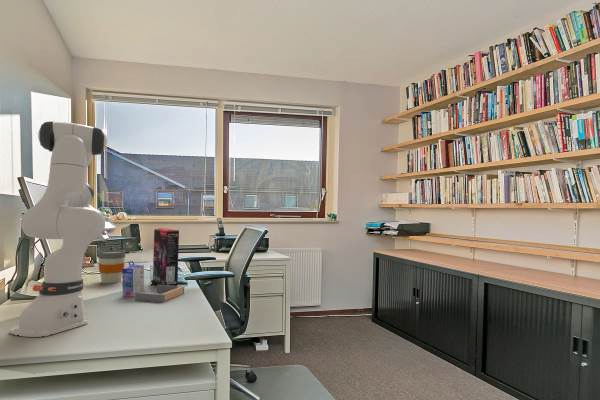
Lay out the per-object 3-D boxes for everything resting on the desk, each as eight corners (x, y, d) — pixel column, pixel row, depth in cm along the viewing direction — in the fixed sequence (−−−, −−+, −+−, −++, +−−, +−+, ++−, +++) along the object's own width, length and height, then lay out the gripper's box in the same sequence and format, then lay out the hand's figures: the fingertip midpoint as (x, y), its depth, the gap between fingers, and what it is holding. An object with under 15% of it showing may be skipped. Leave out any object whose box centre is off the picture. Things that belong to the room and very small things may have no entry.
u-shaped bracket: (162, 302, 167) (163, 295, 167) (135, 299, 170) (135, 292, 170) (184, 293, 184) (184, 286, 184) (158, 291, 187) (158, 284, 187)
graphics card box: (151, 282, 205) (152, 228, 205) (165, 281, 210) (166, 227, 210) (165, 288, 192) (166, 230, 192) (179, 286, 197) (180, 230, 197)
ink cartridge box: (132, 291, 185) (133, 259, 185) (144, 292, 185) (145, 259, 185) (121, 296, 175) (121, 262, 175) (133, 297, 175) (134, 263, 175)
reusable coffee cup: (105, 278, 212) (106, 249, 212) (129, 279, 212) (129, 250, 212) (92, 283, 200) (92, 253, 200) (117, 284, 199) (118, 253, 199)
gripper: (74, 213, 175) (93, 237, 173) (107, 212, 195) (125, 233, 193) (65, 223, 176) (84, 247, 174) (99, 221, 196) (116, 242, 194)
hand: (106, 240), depth 183 cm, fingers closed
